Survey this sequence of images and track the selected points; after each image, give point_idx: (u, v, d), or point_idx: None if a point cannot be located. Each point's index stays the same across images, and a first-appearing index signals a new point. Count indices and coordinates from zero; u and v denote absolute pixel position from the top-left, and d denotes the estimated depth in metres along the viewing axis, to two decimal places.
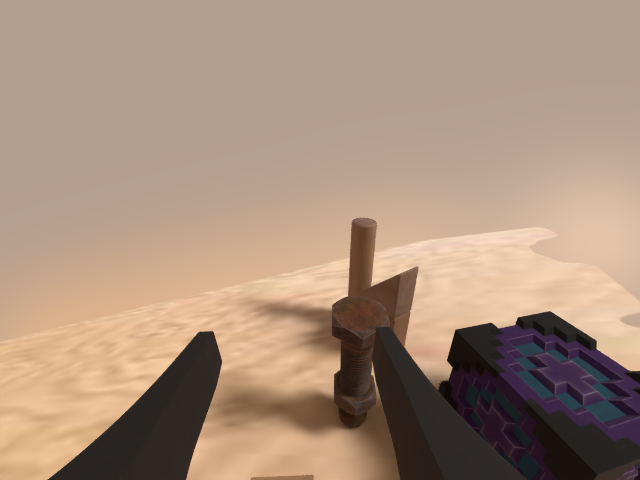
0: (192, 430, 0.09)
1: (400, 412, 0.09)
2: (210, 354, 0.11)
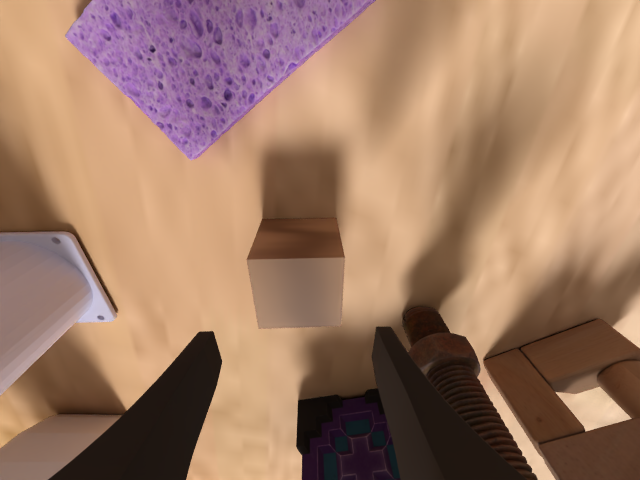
0: (192, 430, 0.09)
1: (400, 412, 0.09)
2: (210, 354, 0.11)
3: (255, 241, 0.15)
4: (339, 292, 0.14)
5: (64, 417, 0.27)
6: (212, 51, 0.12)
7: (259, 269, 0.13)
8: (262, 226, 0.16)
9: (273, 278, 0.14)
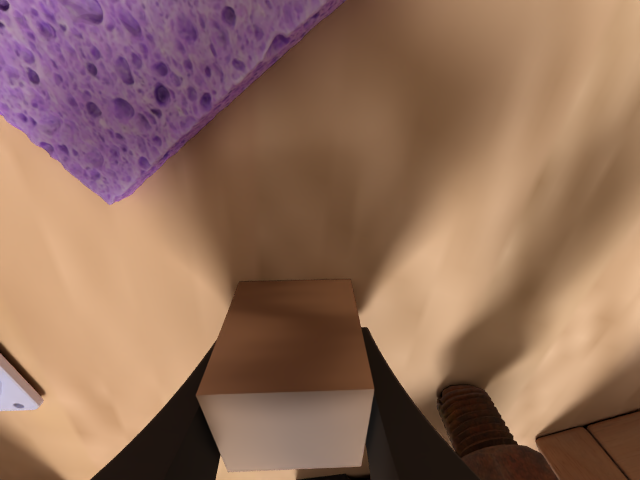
0: None
1: (370, 413, 0.09)
2: None
3: (220, 339, 0.09)
4: (361, 431, 0.08)
5: None
6: (122, 10, 0.06)
7: (220, 407, 0.07)
8: (236, 300, 0.10)
9: (246, 417, 0.08)
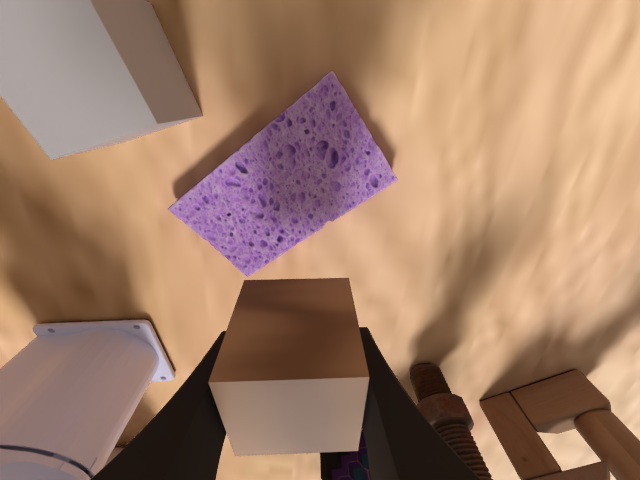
0: (220, 429, 0.09)
1: (370, 413, 0.09)
2: None
3: (228, 333, 0.10)
4: (358, 416, 0.09)
5: None
6: (271, 215, 0.16)
7: (230, 394, 0.08)
8: (242, 297, 0.11)
9: (253, 403, 0.09)
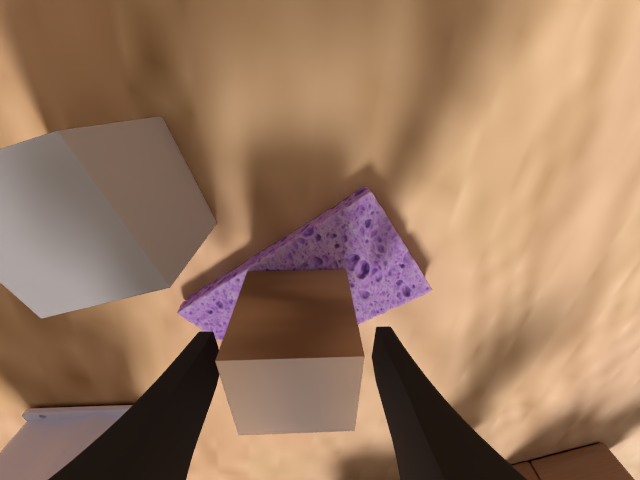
0: (192, 430, 0.09)
1: (400, 412, 0.09)
2: (210, 354, 0.11)
3: (232, 318, 0.10)
4: (354, 396, 0.10)
5: None
6: None
7: (235, 372, 0.09)
8: (245, 286, 0.12)
9: (256, 381, 0.09)
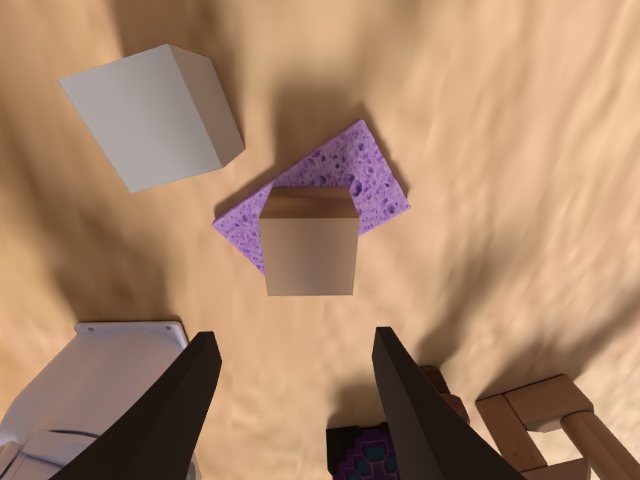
0: (192, 430, 0.09)
1: (400, 412, 0.09)
2: (210, 354, 0.11)
3: (266, 204, 0.14)
4: (352, 257, 0.14)
5: None
6: None
7: (270, 230, 0.13)
8: (272, 192, 0.16)
9: (284, 240, 0.13)
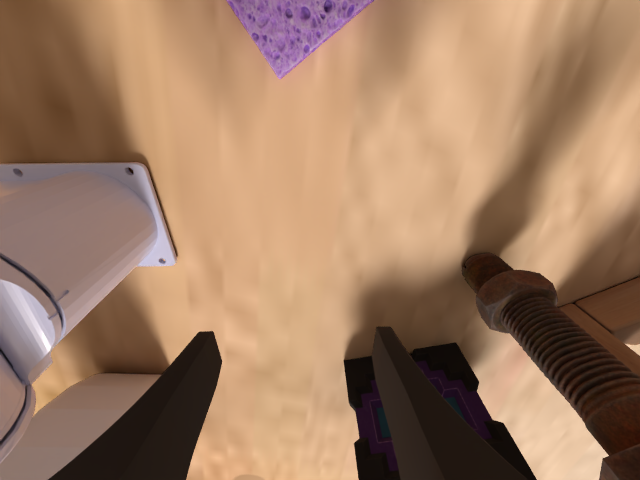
0: (192, 430, 0.09)
1: (400, 412, 0.09)
2: (210, 354, 0.11)
3: None
4: None
5: (110, 375, 0.26)
6: None
7: None
8: None
9: None
